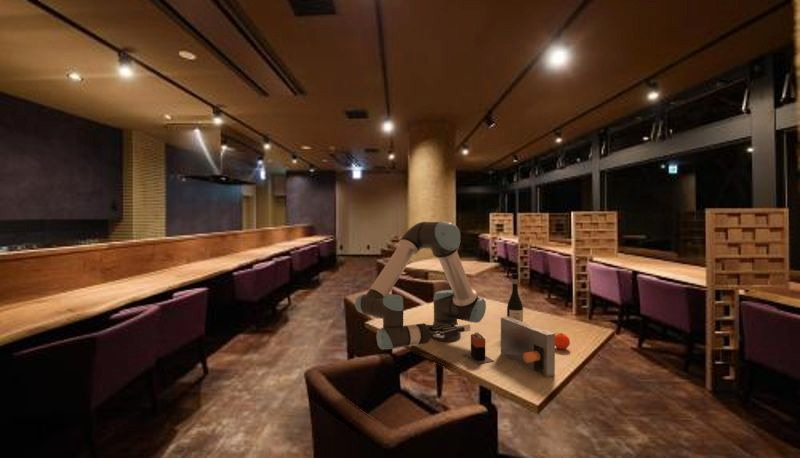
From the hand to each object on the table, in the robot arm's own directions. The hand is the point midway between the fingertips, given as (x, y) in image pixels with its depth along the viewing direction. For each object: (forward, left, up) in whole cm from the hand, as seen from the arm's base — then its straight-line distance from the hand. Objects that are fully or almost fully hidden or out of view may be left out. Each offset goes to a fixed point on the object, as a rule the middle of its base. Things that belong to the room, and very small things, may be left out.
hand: (469, 327), depth 148 cm
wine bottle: (-27, +48, -15) cm, 57 cm away
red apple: (+3, +48, -15) cm, 50 cm away
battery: (-3, +7, -15) cm, 17 cm away
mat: (-3, +7, -15) cm, 17 cm away
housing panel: (+10, +21, -15) cm, 27 cm away
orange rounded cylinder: (+19, +15, -10) cm, 26 cm away
